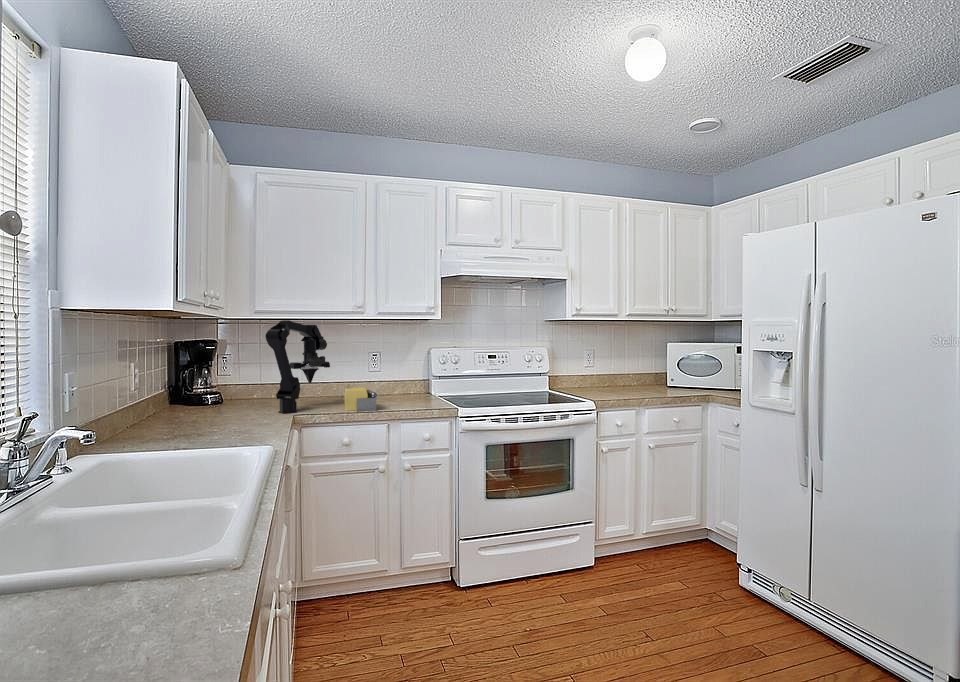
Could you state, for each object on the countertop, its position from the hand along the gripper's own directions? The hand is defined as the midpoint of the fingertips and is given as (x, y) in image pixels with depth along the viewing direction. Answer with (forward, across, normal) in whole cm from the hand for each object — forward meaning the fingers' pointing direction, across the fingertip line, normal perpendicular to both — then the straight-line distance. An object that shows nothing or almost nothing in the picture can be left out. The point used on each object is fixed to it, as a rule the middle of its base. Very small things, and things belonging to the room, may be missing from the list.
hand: (309, 382), depth 284 cm
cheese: (+12, +14, -19) cm, 27 cm away
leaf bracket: (+12, +18, -20) cm, 29 cm away
